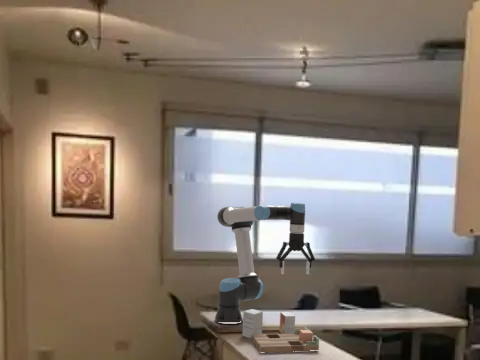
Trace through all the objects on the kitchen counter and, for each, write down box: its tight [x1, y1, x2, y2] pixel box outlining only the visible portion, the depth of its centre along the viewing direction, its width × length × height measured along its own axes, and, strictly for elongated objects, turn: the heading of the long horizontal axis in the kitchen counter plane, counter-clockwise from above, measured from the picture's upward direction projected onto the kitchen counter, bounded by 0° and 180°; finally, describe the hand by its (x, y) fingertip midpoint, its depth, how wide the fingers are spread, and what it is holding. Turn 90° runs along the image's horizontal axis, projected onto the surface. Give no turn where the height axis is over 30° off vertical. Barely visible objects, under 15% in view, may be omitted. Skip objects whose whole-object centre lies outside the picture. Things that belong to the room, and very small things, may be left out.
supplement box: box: [242, 308, 264, 340], centre depth 249 cm, size 7×7×13 cm
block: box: [298, 329, 314, 341], centre depth 238 cm, size 5×5×4 cm
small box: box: [278, 311, 296, 334], centre depth 255 cm, size 8×6×10 cm
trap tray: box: [251, 327, 320, 353], centre depth 236 cm, size 18×28×6 cm, turn 102°
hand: (294, 274), depth 253 cm, fingers open, 13 cm apart
